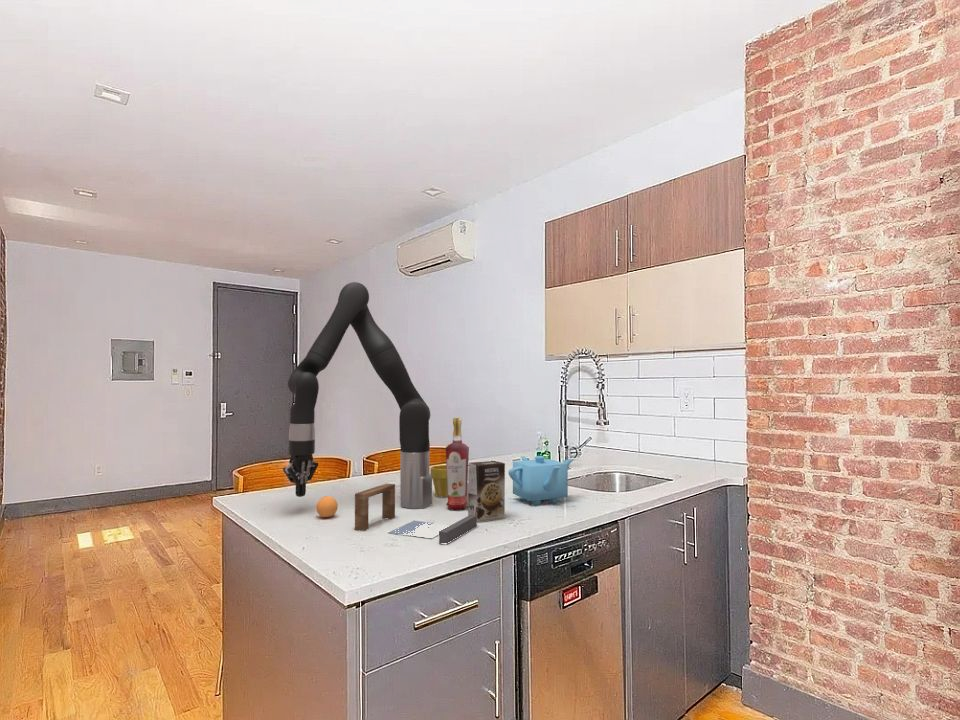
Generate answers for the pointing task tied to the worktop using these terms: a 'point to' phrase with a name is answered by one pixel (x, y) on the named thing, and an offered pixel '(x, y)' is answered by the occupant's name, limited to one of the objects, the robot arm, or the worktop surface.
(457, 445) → the liquor
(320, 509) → the ball
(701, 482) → the worktop surface
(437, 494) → the plant pot
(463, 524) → the wall
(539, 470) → the teakettle
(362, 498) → the bridge
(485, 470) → the coffee box
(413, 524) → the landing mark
